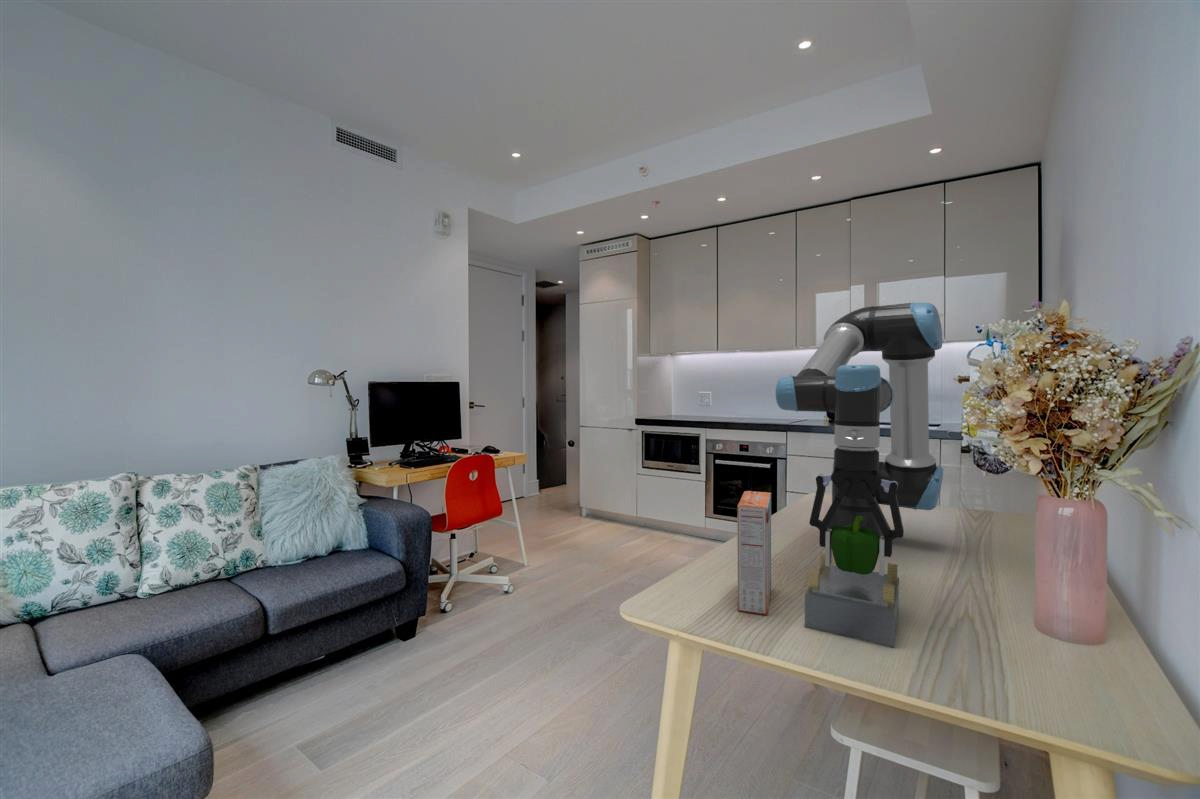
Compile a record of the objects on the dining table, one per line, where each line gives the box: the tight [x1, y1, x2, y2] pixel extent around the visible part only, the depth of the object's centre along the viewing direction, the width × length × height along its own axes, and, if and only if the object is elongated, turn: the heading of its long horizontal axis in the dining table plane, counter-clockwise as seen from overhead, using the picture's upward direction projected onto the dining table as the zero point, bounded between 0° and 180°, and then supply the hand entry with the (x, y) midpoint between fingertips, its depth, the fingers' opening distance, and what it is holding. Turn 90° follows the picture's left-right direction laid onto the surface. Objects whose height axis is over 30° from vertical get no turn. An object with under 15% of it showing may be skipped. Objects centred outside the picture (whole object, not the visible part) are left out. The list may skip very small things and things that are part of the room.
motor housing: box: [804, 552, 900, 648], centre depth 100 cm, size 21×14×9 cm, turn 148°
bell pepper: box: [831, 516, 880, 575], centre depth 98 cm, size 8×8×10 cm
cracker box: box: [736, 490, 772, 616], centre depth 106 cm, size 14×6×21 cm, turn 159°
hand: (854, 568), depth 99 cm, fingers closed on bell pepper, 8 cm apart
